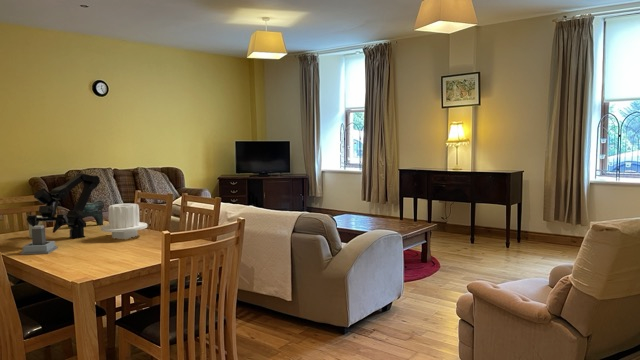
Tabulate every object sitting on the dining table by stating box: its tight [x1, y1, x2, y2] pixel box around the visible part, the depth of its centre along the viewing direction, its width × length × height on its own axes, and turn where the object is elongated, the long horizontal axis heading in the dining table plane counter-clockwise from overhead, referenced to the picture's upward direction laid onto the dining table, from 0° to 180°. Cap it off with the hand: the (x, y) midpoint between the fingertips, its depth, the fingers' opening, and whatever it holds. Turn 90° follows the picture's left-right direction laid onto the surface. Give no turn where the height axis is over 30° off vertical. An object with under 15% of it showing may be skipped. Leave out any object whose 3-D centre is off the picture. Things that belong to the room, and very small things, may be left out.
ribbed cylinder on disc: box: [100, 202, 148, 240], centre depth 277 cm, size 25×25×19 cm
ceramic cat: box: [73, 195, 105, 227], centre depth 311 cm, size 20×6×20 cm, turn 135°
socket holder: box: [19, 240, 59, 256], centre depth 243 cm, size 13×13×4 cm
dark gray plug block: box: [31, 225, 47, 245], centre depth 243 cm, size 4×4×12 cm
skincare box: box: [28, 215, 43, 239], centre depth 279 cm, size 6×4×12 cm
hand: (43, 232), depth 249 cm, fingers open, 9 cm apart
